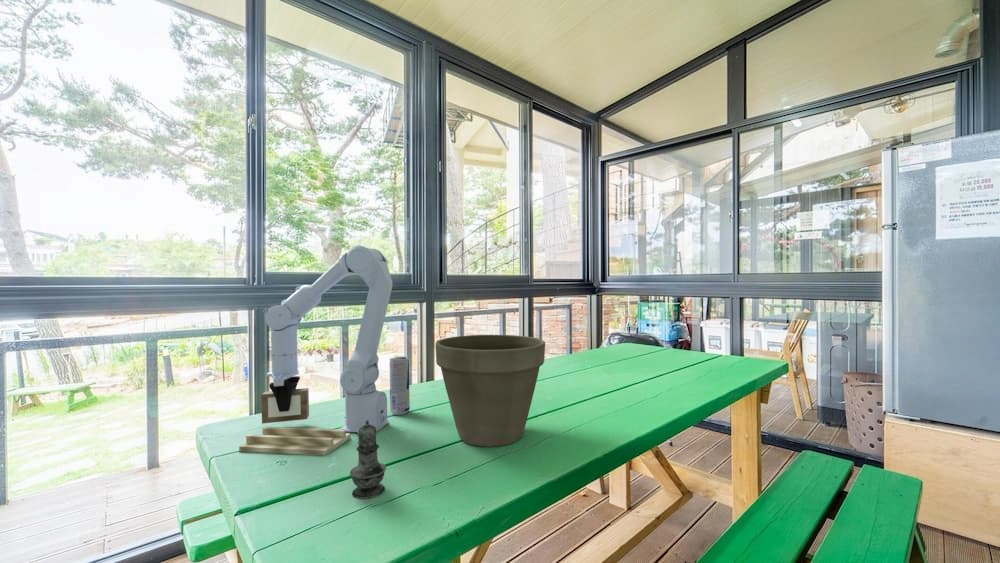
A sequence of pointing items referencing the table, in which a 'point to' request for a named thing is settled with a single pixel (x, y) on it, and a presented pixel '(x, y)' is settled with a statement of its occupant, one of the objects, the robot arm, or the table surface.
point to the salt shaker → (367, 465)
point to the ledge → (295, 441)
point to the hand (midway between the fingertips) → (285, 409)
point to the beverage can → (399, 385)
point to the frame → (296, 411)
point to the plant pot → (490, 384)
